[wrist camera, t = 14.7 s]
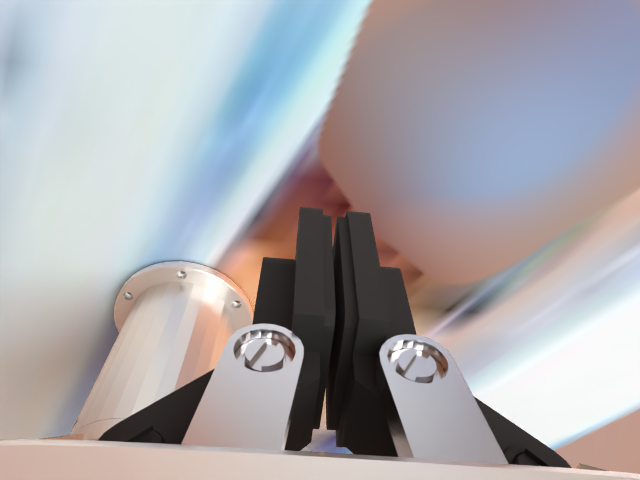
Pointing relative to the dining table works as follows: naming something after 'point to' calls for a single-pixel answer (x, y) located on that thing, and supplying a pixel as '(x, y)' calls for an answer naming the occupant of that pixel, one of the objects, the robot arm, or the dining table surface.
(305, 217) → the robot arm
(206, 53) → the dining table surface
